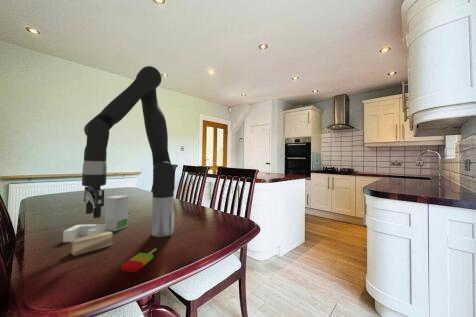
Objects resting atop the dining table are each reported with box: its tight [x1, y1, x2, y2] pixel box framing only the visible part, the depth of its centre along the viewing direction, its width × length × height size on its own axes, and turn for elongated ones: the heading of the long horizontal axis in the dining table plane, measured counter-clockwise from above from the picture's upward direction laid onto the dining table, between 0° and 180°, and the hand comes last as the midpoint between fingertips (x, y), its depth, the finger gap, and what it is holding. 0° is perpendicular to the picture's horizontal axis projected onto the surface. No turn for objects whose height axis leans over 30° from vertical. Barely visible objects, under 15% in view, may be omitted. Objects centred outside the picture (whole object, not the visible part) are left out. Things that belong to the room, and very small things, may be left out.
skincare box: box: [104, 195, 129, 232], centre depth 99 cm, size 8×7×16 cm
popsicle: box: [121, 248, 158, 273], centre depth 69 cm, size 6×15×2 cm, turn 170°
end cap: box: [62, 223, 107, 243], centre depth 86 cm, size 12×8×4 cm, turn 97°
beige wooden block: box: [70, 230, 114, 256], centre depth 76 cm, size 4×12×5 cm, turn 141°
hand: (92, 215), depth 76 cm, fingers open, 8 cm apart
